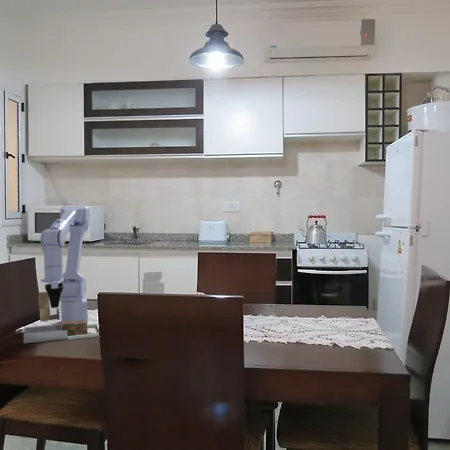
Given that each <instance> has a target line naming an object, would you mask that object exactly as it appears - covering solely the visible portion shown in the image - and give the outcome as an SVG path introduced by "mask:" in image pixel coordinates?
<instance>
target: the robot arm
mask: <svg viewBox="0 0 450 450" xmlns="http://www.w3.org/2000/svg"><path fill="white" fill-rule="evenodd" d="M59 210H60V211H59V217H60V218H57V219H55V221H54V222H53V223H52V224H51V225H50V227H49V228H48V229H44V230H42V232H41V235H40V243H41V247H42V248H41V250H42V253H43V262H44V264H43V265H44V278H41V279H40V282H41V283H46V284H45V285H44V289H45V292H47V293H48V296H49V305H50V308H51V309H54V308H55V309H57V308H59V306H60V323H61V322H62V321H73V320H74V321H82V320H86V321H87V323H88V322H89V320H88V319H89V313H88V300H87V298H85V296H86V292H87V285H86V283H87V281H86V279H85V277H84V276H83V275H81V274H80V268H81V259H82V249H83V239H84V235H85V233H84V232H85V231H88V230H89V226H90V219H91V215H90V212H91V211H90V209H89V206H87V205H84V206H64V205H63V206H62V207H60V209H59ZM68 233H69V240H68V241H69V242H68V248H67V249H68V250H67V256H66V257H67V258H66V265H65V272H64V264H63V263H64V261H63V260H64V258H63V247H64V246H65V244H66V239H67V234H68Z"/></svg>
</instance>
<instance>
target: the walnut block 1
mask: <svg viewBox="0 0 450 450" xmlns="http://www.w3.org/2000/svg"><path fill="white" fill-rule="evenodd" d="M60 324H61V326H62V330H67V337H68V336H75V322H74V320H73V321H62V322H61V321H60Z"/></svg>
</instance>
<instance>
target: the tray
mask: <svg viewBox="0 0 450 450" xmlns="http://www.w3.org/2000/svg"><path fill="white" fill-rule="evenodd" d="M98 324H99V323H89V324H87V329H89V328H96V330H97V331H98ZM98 337H100V336H99V332H97V333H95V332H94V333H87V334H83V335H72V336H67V340H68V341H70V340H79V339H89V338H98Z"/></svg>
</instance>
